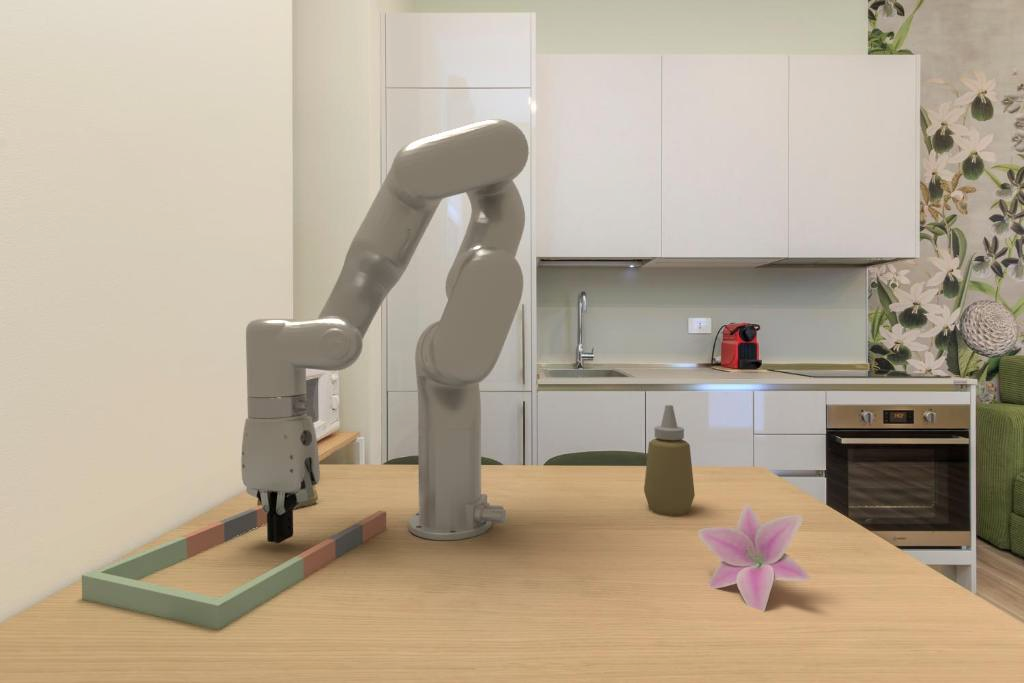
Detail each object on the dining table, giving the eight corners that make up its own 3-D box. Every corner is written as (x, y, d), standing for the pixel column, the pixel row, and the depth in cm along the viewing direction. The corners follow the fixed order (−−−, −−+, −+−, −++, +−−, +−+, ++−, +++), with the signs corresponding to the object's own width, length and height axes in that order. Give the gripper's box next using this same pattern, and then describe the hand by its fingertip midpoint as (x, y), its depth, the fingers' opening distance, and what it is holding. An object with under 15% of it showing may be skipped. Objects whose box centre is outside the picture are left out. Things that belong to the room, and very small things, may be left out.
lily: (688, 571, 70) (678, 512, 66) (775, 542, 70) (770, 483, 67) (739, 654, 59) (730, 590, 55) (841, 619, 59) (839, 553, 55)
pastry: (265, 516, 90) (266, 493, 89) (250, 505, 94) (251, 483, 94) (321, 504, 96) (321, 482, 96) (304, 494, 101) (304, 474, 101)
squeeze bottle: (640, 519, 88) (640, 407, 88) (647, 504, 96) (647, 401, 95) (692, 526, 85) (693, 410, 85) (696, 510, 93) (696, 403, 92)
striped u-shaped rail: (386, 531, 84) (386, 511, 83) (218, 635, 55) (218, 605, 55) (279, 515, 91) (279, 497, 90) (82, 601, 62) (81, 575, 62)
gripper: (339, 406, 77) (342, 535, 78) (256, 402, 82) (259, 524, 83) (302, 414, 70) (305, 556, 71) (213, 409, 75) (217, 542, 76)
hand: (280, 538), depth 77 cm, fingers closed
